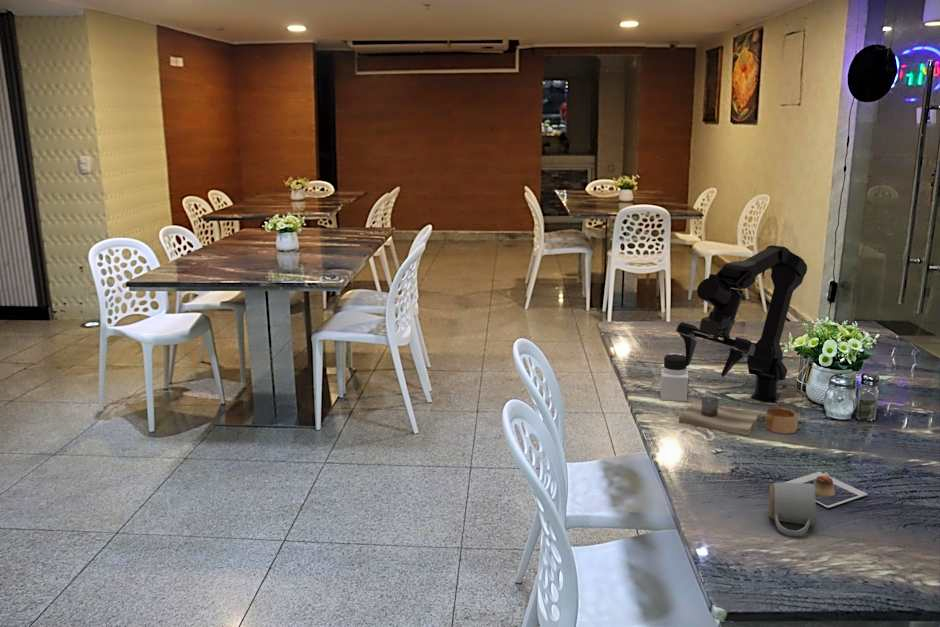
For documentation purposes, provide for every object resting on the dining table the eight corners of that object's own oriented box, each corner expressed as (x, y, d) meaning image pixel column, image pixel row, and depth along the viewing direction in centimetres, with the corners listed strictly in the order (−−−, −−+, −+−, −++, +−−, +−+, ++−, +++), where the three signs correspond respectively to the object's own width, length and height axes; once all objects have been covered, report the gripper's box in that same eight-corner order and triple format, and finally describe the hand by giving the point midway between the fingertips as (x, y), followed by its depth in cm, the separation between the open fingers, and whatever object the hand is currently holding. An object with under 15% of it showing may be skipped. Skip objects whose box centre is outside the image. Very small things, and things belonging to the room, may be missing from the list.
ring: (769, 420, 202) (770, 406, 201) (798, 426, 198) (799, 411, 197) (763, 430, 196) (764, 415, 195) (793, 435, 192) (794, 420, 191)
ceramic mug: (766, 508, 158) (769, 472, 156) (811, 513, 155) (814, 477, 153) (769, 535, 148) (772, 498, 146) (816, 541, 146) (820, 504, 144)
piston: (703, 410, 206) (704, 395, 205) (719, 412, 204) (720, 398, 203) (699, 414, 202) (700, 400, 201) (715, 417, 200) (716, 402, 199)
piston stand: (692, 407, 211) (692, 402, 211) (758, 419, 203) (759, 414, 202) (678, 422, 201) (679, 417, 201) (747, 435, 193) (748, 430, 192)
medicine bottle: (687, 402, 216) (690, 359, 213) (660, 400, 217) (662, 358, 214) (686, 393, 222) (688, 352, 220) (659, 391, 224) (661, 351, 221)
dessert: (827, 512, 157) (830, 490, 155) (779, 488, 167) (781, 467, 166) (868, 499, 162) (870, 477, 161) (818, 476, 172) (820, 455, 171)
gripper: (679, 295, 196) (659, 354, 195) (754, 314, 186) (733, 377, 185) (692, 305, 206) (673, 362, 205) (764, 324, 195) (744, 384, 194)
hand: (704, 371), depth 197 cm, fingers open, 9 cm apart
